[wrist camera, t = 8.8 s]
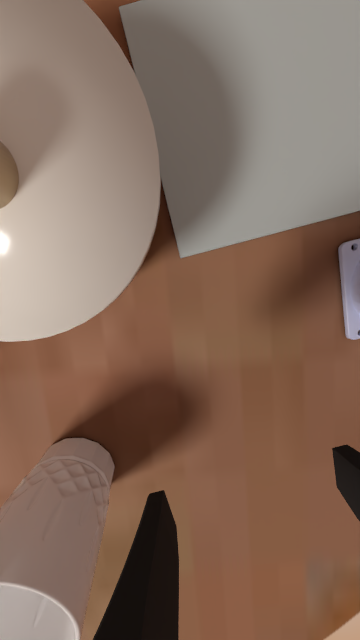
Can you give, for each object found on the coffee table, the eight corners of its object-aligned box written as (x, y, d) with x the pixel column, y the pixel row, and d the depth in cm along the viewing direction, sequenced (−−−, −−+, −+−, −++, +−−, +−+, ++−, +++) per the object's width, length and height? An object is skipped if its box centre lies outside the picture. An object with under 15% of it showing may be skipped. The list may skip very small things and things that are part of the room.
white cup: (38, 424, 20) (-89, 575, 10) (127, 437, 20) (88, 590, 11) (32, 495, 21) (-82, 682, 12) (115, 504, 22) (71, 689, 12)
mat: (357, -53, 14) (363, -63, 13) (371, 207, 17) (376, 206, 16) (120, 14, 14) (118, 6, 13) (180, 258, 17) (180, 258, 17)
